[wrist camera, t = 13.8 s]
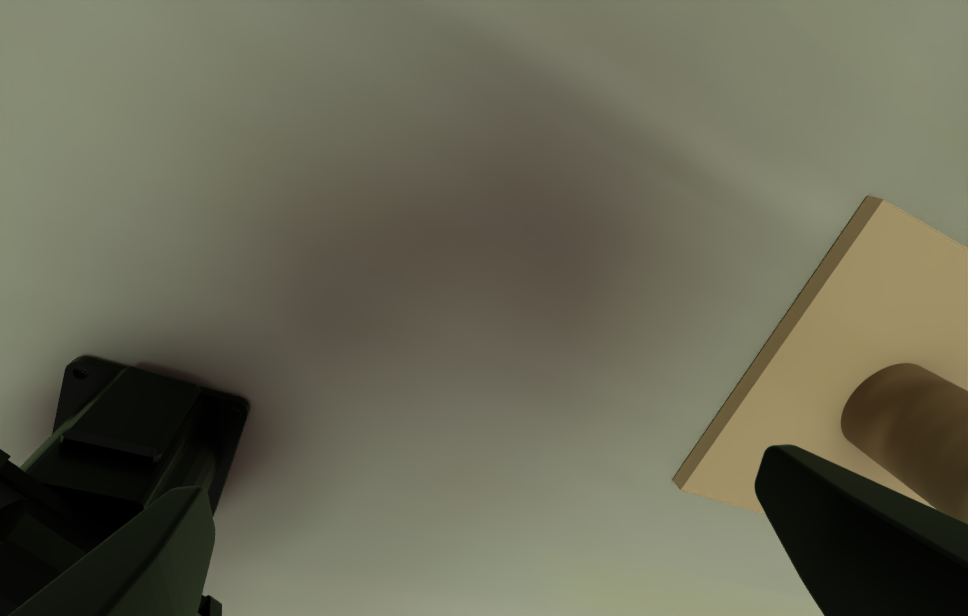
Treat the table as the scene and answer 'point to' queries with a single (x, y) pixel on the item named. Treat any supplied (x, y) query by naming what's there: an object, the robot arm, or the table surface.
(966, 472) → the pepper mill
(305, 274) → the table surface
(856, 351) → the beige square board
